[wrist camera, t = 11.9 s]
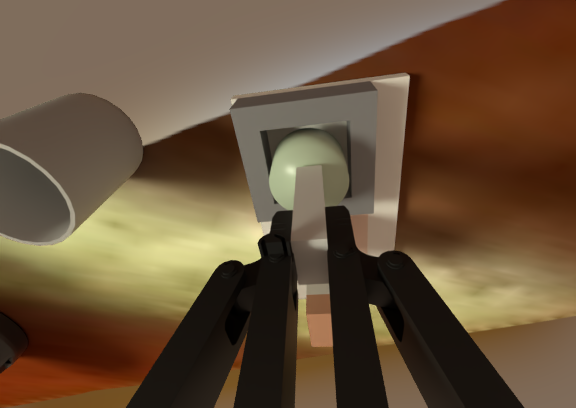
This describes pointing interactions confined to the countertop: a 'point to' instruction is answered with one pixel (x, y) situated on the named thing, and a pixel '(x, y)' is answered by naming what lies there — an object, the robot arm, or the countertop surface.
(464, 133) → the countertop surface
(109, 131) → the cup
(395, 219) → the board
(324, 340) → the grey and orange block
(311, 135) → the button
